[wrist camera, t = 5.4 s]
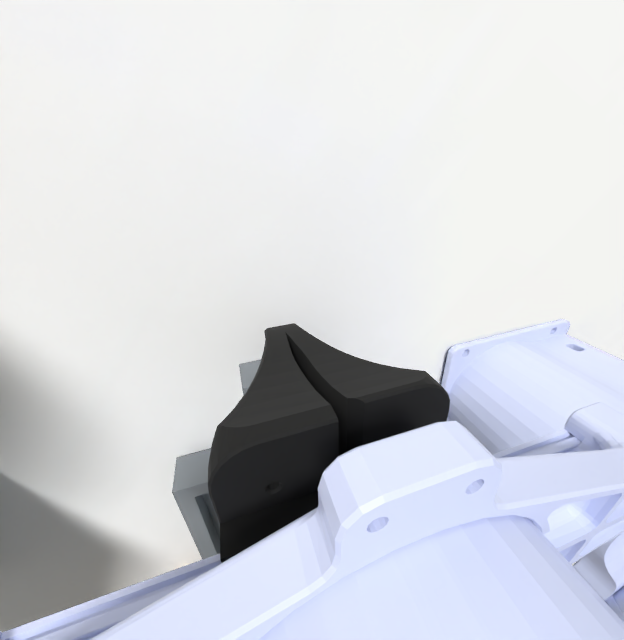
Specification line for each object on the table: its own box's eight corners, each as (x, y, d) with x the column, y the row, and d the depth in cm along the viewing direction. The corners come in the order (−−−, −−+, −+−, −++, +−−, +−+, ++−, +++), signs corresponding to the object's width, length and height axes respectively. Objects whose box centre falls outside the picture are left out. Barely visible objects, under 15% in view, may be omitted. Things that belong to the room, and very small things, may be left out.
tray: (389, 333, 15) (459, 397, 11) (373, 489, 22) (413, 568, 18) (146, 383, 12) (110, 497, 8) (212, 545, 19) (211, 657, 15)
